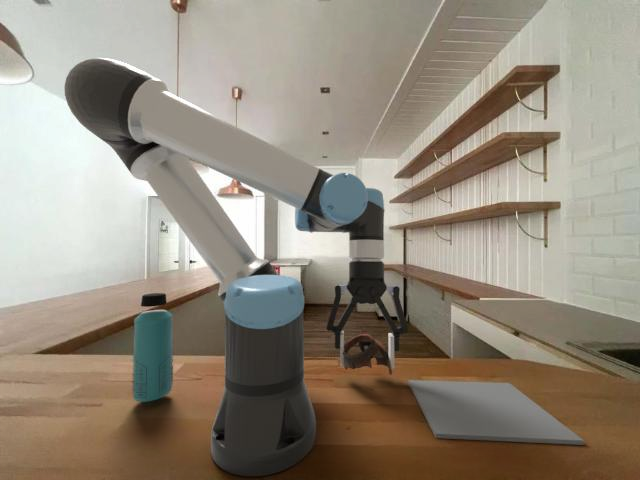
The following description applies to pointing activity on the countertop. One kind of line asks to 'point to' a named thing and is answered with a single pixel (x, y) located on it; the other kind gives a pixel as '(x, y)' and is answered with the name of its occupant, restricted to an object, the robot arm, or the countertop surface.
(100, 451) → the countertop surface
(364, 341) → the broken terracotta jug
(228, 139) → the robot arm
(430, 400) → the gray mat
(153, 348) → the beverage bottle
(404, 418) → the countertop surface
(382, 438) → the countertop surface
